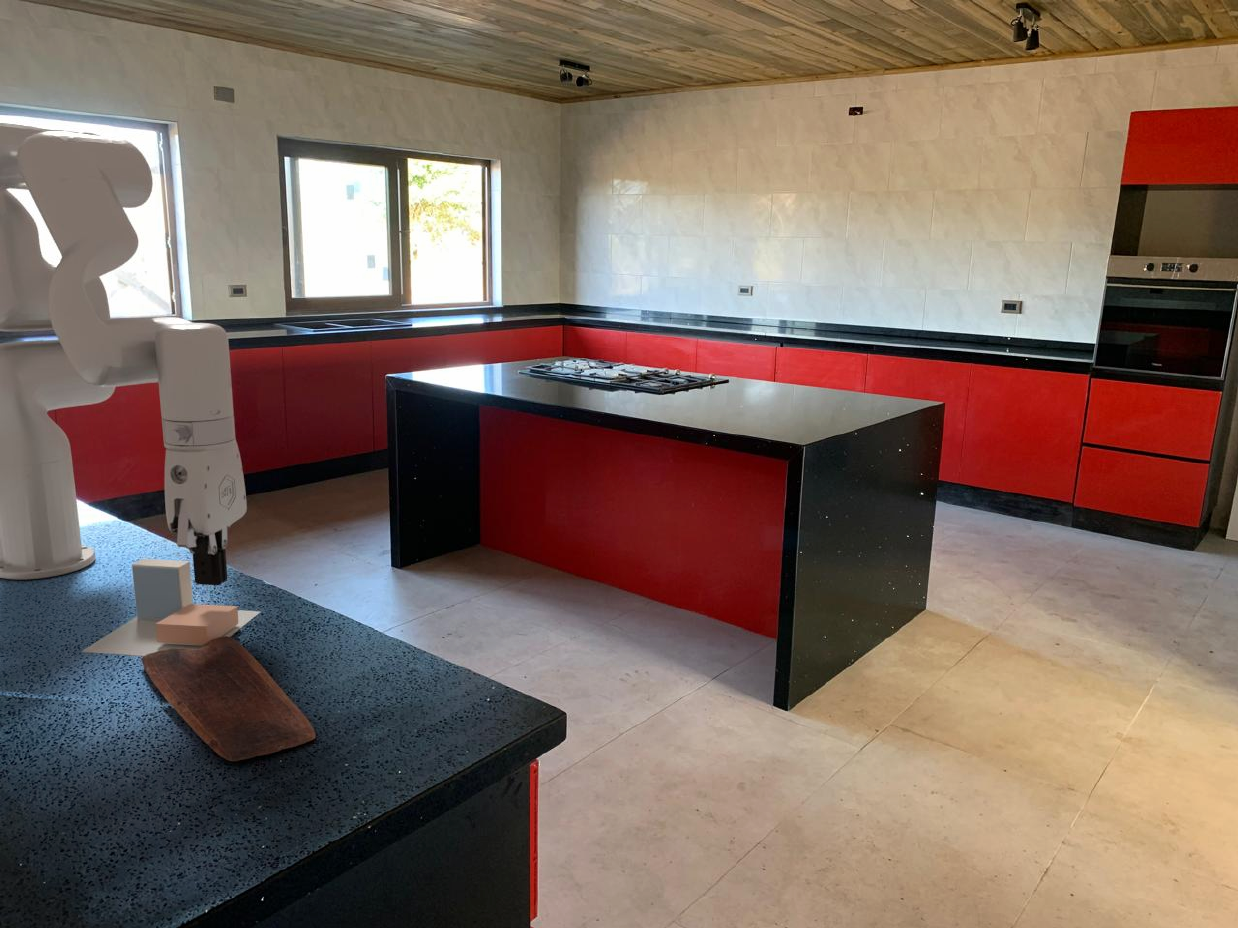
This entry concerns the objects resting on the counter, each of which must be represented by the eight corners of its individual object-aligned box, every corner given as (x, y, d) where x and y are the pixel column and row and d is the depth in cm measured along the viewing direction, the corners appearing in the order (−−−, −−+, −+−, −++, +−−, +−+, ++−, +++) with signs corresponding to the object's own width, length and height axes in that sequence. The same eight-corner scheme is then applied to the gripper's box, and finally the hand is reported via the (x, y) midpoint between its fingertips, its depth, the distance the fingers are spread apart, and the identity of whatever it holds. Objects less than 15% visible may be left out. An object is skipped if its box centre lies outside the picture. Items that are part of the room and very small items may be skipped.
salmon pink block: (191, 622, 110) (156, 643, 103) (189, 603, 109) (155, 623, 102) (238, 625, 109) (207, 646, 102) (237, 606, 109) (206, 626, 102)
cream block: (136, 619, 110) (130, 564, 109) (147, 611, 113) (142, 558, 111) (183, 622, 110) (178, 567, 108) (193, 614, 112) (189, 561, 110)
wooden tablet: (325, 726, 85) (213, 749, 78) (323, 748, 85) (212, 772, 79) (232, 630, 104) (136, 642, 98) (231, 649, 105) (135, 662, 98)
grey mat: (81, 654, 101) (81, 651, 101) (155, 607, 115) (155, 604, 115) (200, 663, 100) (200, 659, 100) (261, 614, 114) (260, 611, 114)
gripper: (195, 446, 96) (208, 607, 101) (261, 421, 111) (270, 563, 115) (128, 443, 97) (144, 604, 101) (202, 419, 112) (213, 560, 116)
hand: (211, 582), depth 108 cm, fingers closed
